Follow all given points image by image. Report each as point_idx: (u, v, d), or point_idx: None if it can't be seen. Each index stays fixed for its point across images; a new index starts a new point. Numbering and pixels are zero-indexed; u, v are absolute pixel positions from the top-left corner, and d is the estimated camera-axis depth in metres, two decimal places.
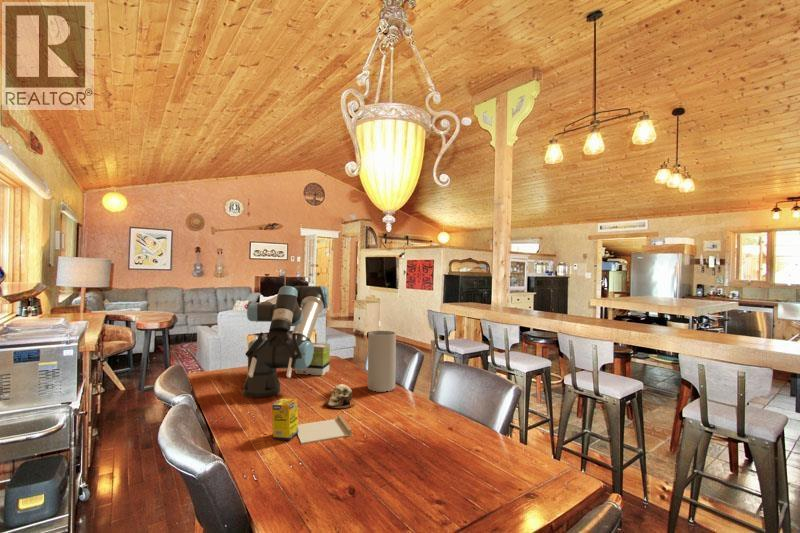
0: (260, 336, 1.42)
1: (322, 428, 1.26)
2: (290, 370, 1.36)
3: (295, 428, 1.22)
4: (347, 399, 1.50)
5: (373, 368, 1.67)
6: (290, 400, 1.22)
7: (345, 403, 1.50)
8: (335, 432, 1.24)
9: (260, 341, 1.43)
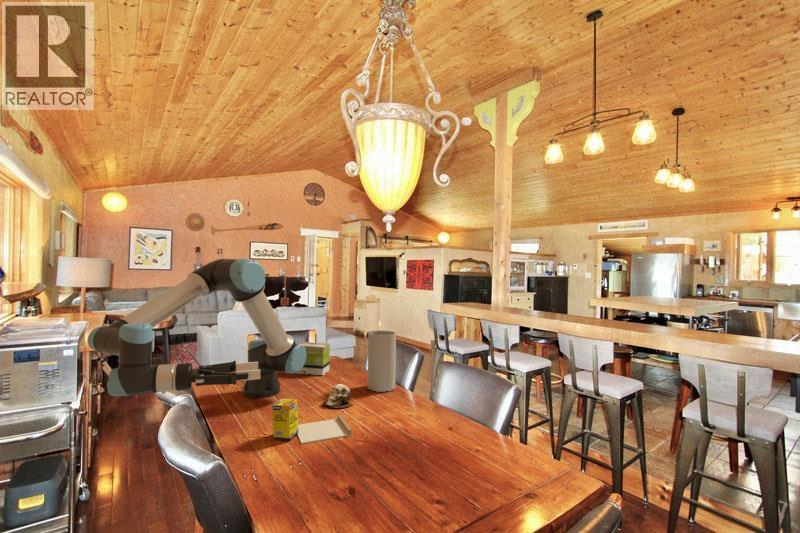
0: None
1: (322, 428, 1.26)
2: (252, 375, 1.12)
3: (295, 429, 1.22)
4: (345, 399, 1.50)
5: (373, 368, 1.67)
6: (290, 400, 1.22)
7: (343, 403, 1.50)
8: (335, 432, 1.24)
9: None
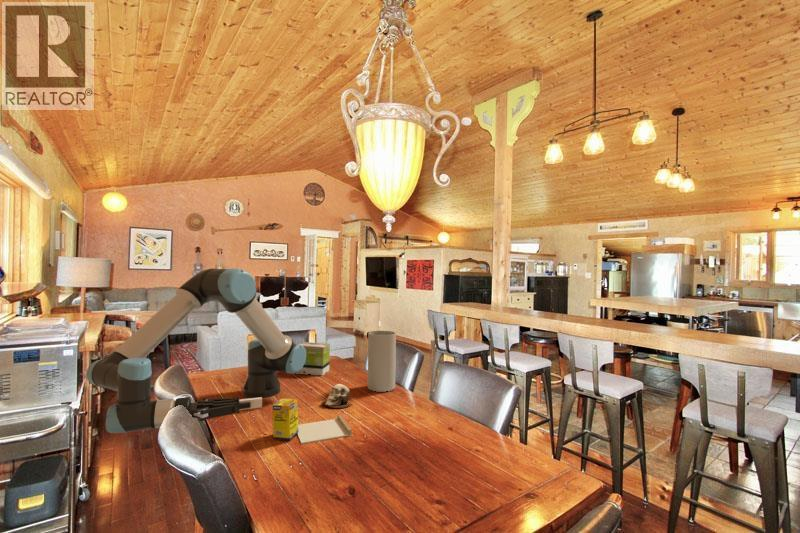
0: None
1: (322, 428, 1.26)
2: (254, 404, 1.16)
3: (295, 429, 1.22)
4: (345, 399, 1.50)
5: (373, 368, 1.67)
6: (290, 400, 1.22)
7: (343, 403, 1.50)
8: (335, 432, 1.24)
9: None
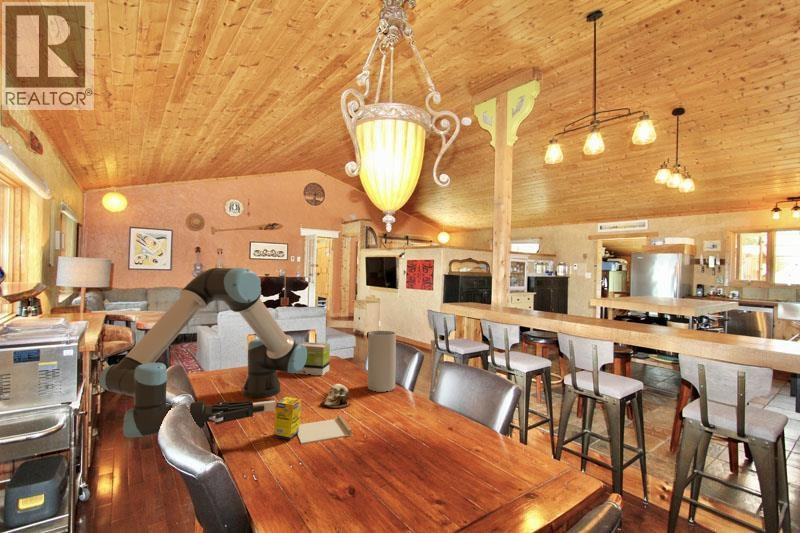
0: None
1: (322, 428, 1.26)
2: (267, 407, 1.18)
3: (296, 428, 1.22)
4: (343, 398, 1.50)
5: (373, 368, 1.67)
6: (295, 399, 1.22)
7: (341, 402, 1.50)
8: (335, 432, 1.24)
9: None
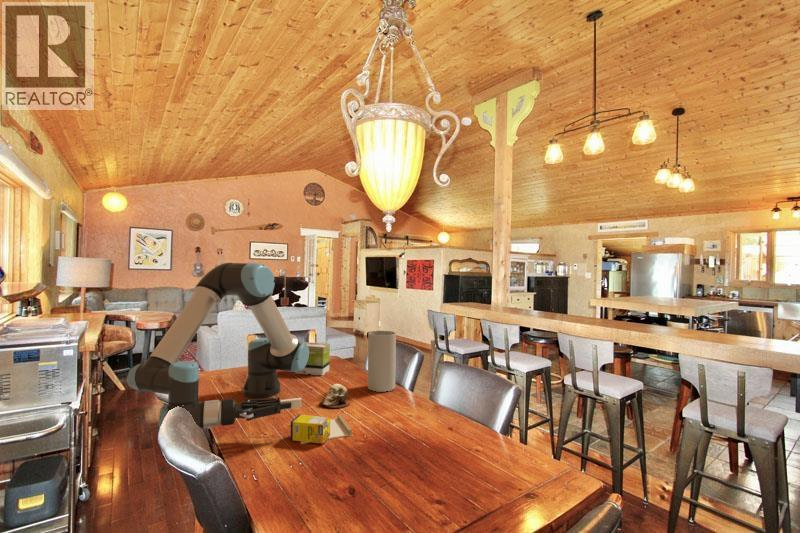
0: None
1: None
2: (294, 404, 1.21)
3: None
4: (342, 398, 1.50)
5: (373, 368, 1.67)
6: (328, 432, 1.20)
7: (340, 402, 1.50)
8: (335, 432, 1.24)
9: None
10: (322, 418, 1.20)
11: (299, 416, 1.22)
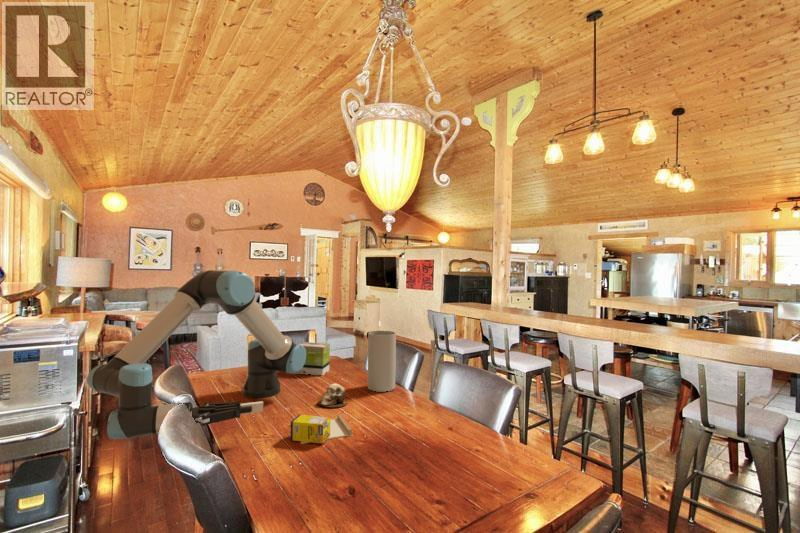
0: None
1: None
2: (255, 408, 1.17)
3: None
4: (340, 398, 1.51)
5: (373, 368, 1.67)
6: (328, 432, 1.20)
7: (338, 402, 1.51)
8: (335, 432, 1.24)
9: None
10: (322, 418, 1.20)
11: (299, 416, 1.22)
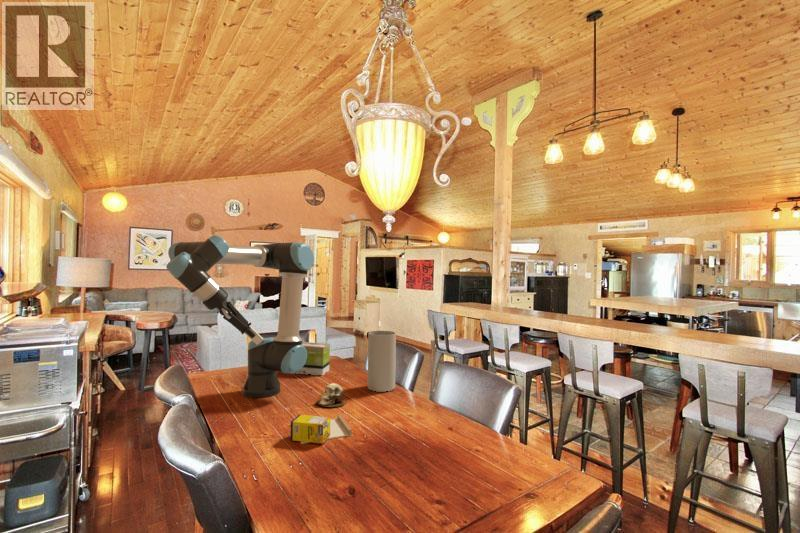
0: None
1: None
2: (255, 338, 1.32)
3: None
4: (338, 398, 1.51)
5: (373, 368, 1.67)
6: (328, 432, 1.20)
7: (336, 402, 1.51)
8: (335, 432, 1.24)
9: None
10: (322, 418, 1.20)
11: (299, 416, 1.22)
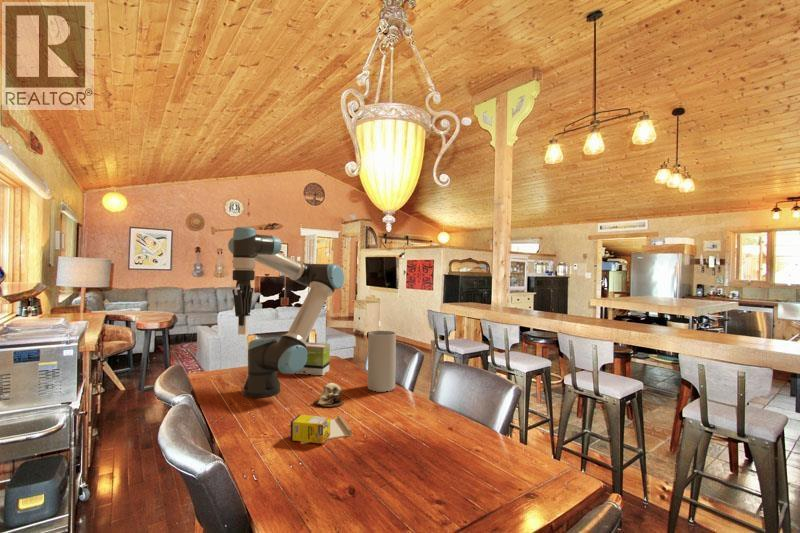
0: None
1: None
2: (241, 328, 1.38)
3: None
4: (337, 397, 1.51)
5: (373, 368, 1.67)
6: (328, 432, 1.20)
7: (335, 401, 1.51)
8: (335, 432, 1.24)
9: None
10: (322, 418, 1.20)
11: (299, 416, 1.22)
